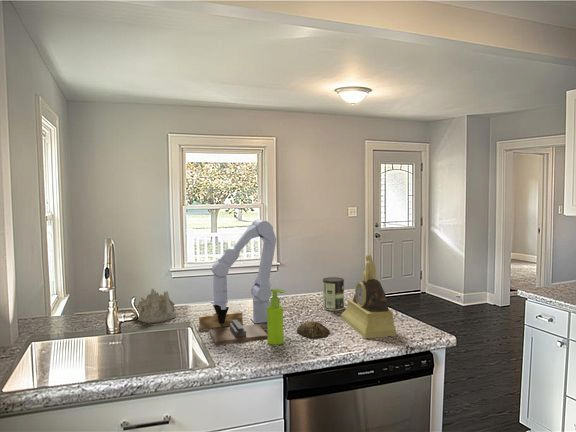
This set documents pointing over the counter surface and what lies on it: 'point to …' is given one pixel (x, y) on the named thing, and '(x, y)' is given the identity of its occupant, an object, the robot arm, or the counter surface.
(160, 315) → the sand castle
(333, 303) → the coffee can
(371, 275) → the decorative clock
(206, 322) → the oak beam
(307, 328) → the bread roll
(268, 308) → the soap dispenser
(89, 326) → the counter surface
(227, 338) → the board
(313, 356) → the counter surface
